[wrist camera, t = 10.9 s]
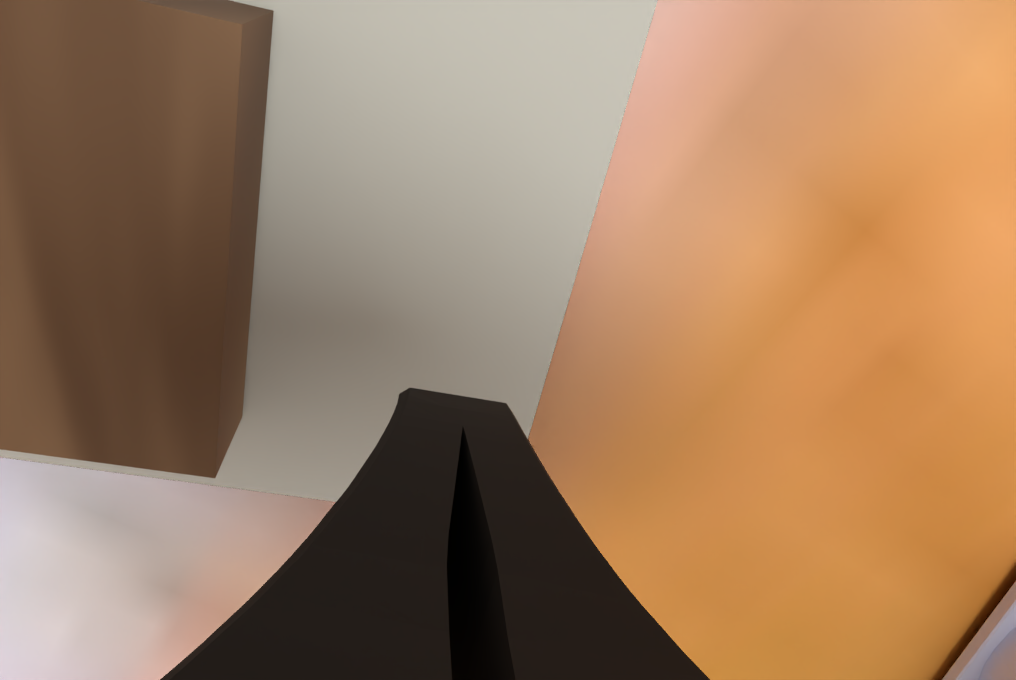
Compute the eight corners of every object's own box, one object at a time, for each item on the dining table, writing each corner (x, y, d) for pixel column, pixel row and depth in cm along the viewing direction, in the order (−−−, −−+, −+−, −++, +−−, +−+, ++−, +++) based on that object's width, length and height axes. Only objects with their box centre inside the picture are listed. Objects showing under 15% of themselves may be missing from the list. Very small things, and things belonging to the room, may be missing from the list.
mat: (747, -339, 11) (760, -350, 10) (501, 509, 18) (502, 524, 18) (-604, -798, 8) (-665, -839, 8) (-254, 406, 15) (-275, 420, 15)
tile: (241, 24, 10) (-256, -90, 9) (214, 478, 14) (-145, 429, 13) (274, 10, 12) (-140, -87, 11) (242, 415, 16) (-72, 368, 15)
